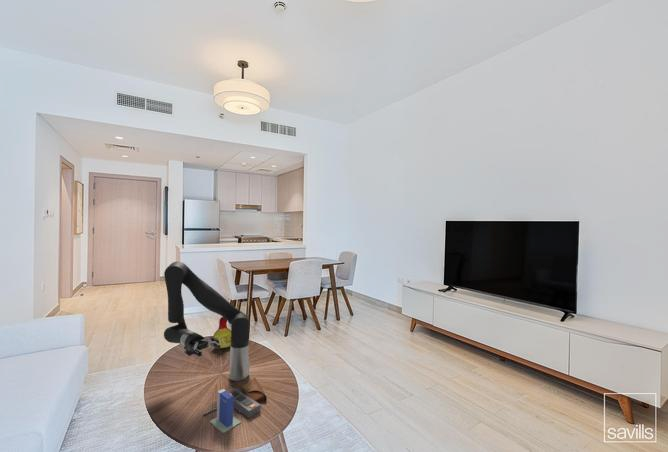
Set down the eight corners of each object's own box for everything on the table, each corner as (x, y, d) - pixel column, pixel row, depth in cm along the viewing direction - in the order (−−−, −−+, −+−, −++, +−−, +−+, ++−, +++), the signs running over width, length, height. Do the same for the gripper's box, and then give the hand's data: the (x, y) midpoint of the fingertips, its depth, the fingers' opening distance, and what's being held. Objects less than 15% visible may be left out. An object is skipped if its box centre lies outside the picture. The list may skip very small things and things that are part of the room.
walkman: (232, 423, 122) (233, 395, 122) (226, 427, 120) (227, 398, 120) (222, 415, 127) (223, 387, 127) (216, 418, 125) (217, 390, 124)
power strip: (192, 406, 133) (192, 399, 133) (227, 389, 147) (228, 382, 146) (224, 432, 117) (224, 424, 117) (260, 411, 131) (260, 403, 131)
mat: (227, 412, 129) (227, 411, 129) (240, 422, 123) (240, 421, 123) (209, 421, 123) (209, 421, 123) (223, 433, 117) (223, 432, 117)
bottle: (213, 351, 187) (214, 319, 187) (211, 347, 193) (212, 316, 192) (232, 347, 193) (234, 317, 193) (230, 343, 199) (231, 314, 198)
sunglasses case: (238, 386, 150) (246, 373, 151) (250, 390, 153) (257, 377, 155) (249, 406, 134) (256, 391, 136) (261, 410, 138) (269, 396, 139)
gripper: (176, 337, 135) (194, 347, 125) (206, 328, 146) (224, 337, 136) (176, 354, 135) (194, 365, 125) (206, 343, 147) (225, 353, 137)
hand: (210, 350), depth 131 cm, fingers open, 8 cm apart
